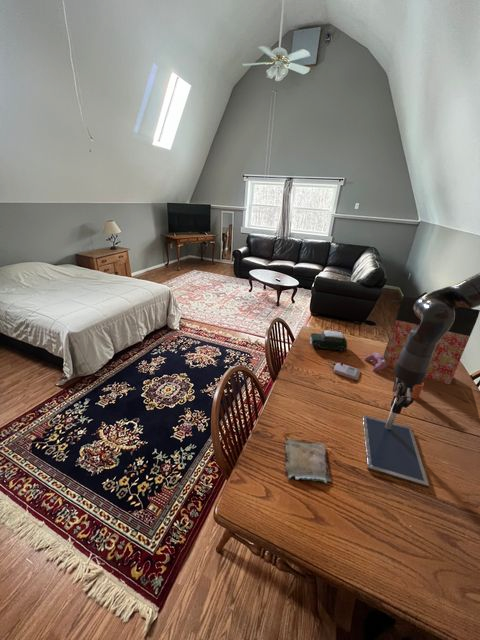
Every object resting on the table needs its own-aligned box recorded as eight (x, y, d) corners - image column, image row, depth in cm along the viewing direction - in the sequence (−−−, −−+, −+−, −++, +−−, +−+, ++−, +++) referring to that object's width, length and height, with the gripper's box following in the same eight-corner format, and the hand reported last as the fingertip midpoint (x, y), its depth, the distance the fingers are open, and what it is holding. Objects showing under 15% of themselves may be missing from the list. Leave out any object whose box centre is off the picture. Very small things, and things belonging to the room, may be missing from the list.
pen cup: (416, 395, 105) (422, 380, 102) (418, 401, 101) (425, 386, 98) (406, 393, 106) (412, 378, 103) (408, 398, 102) (414, 384, 99)
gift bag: (446, 370, 121) (479, 298, 106) (450, 387, 110) (487, 309, 95) (376, 351, 134) (396, 283, 119) (372, 364, 123) (395, 292, 108)
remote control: (362, 382, 110) (363, 376, 109) (324, 369, 117) (325, 363, 116) (364, 374, 115) (366, 368, 114) (328, 362, 123) (329, 357, 121)
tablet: (410, 429, 89) (411, 427, 88) (428, 488, 71) (429, 485, 70) (362, 416, 93) (362, 414, 92) (367, 469, 75) (368, 467, 74)
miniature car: (308, 340, 141) (311, 326, 138) (344, 344, 139) (347, 330, 135) (309, 348, 133) (312, 334, 130) (347, 353, 131) (351, 339, 127)
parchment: (284, 478, 71) (285, 476, 71) (284, 438, 83) (284, 436, 82) (332, 486, 70) (333, 484, 69) (325, 444, 81) (325, 442, 81)
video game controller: (380, 375, 118) (391, 364, 115) (372, 371, 117) (383, 359, 114) (370, 363, 127) (380, 351, 124) (362, 359, 126) (372, 347, 123)
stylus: (390, 427, 88) (402, 396, 82) (391, 431, 86) (403, 400, 81) (384, 425, 88) (395, 394, 83) (385, 429, 87) (396, 398, 81)
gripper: (435, 381, 70) (413, 429, 77) (421, 354, 82) (403, 398, 89) (403, 374, 72) (385, 422, 79) (394, 349, 84) (379, 393, 91)
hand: (394, 409), depth 84 cm, fingers closed on stylus, 2 cm apart
